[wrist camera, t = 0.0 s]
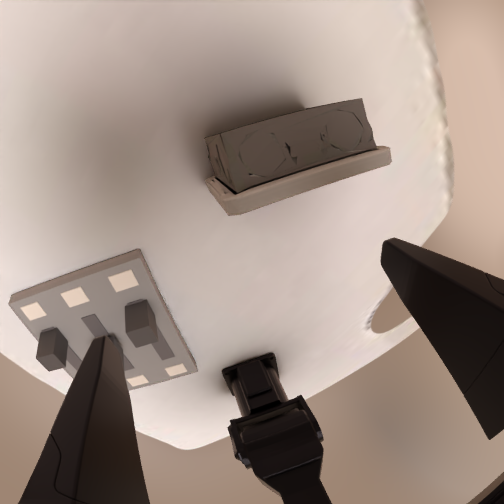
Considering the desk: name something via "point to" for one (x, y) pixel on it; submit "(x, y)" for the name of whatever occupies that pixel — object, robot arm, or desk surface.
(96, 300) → the panel
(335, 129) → the electrical switch
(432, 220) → the desk surface
